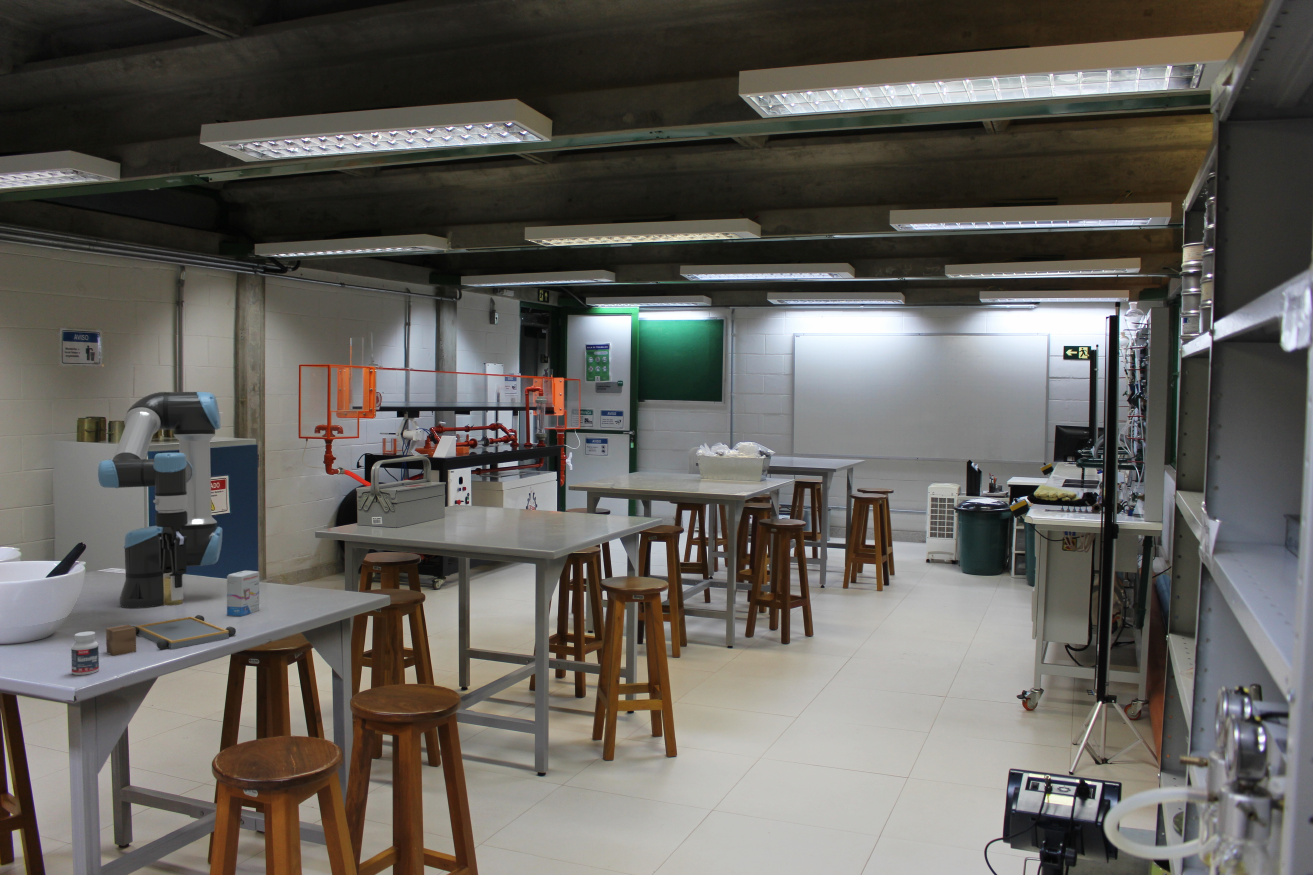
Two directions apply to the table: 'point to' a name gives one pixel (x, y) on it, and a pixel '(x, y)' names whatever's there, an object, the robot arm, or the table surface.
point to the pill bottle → (85, 654)
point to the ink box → (242, 593)
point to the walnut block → (121, 640)
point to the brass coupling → (169, 593)
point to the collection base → (183, 632)
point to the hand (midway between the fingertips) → (173, 598)
